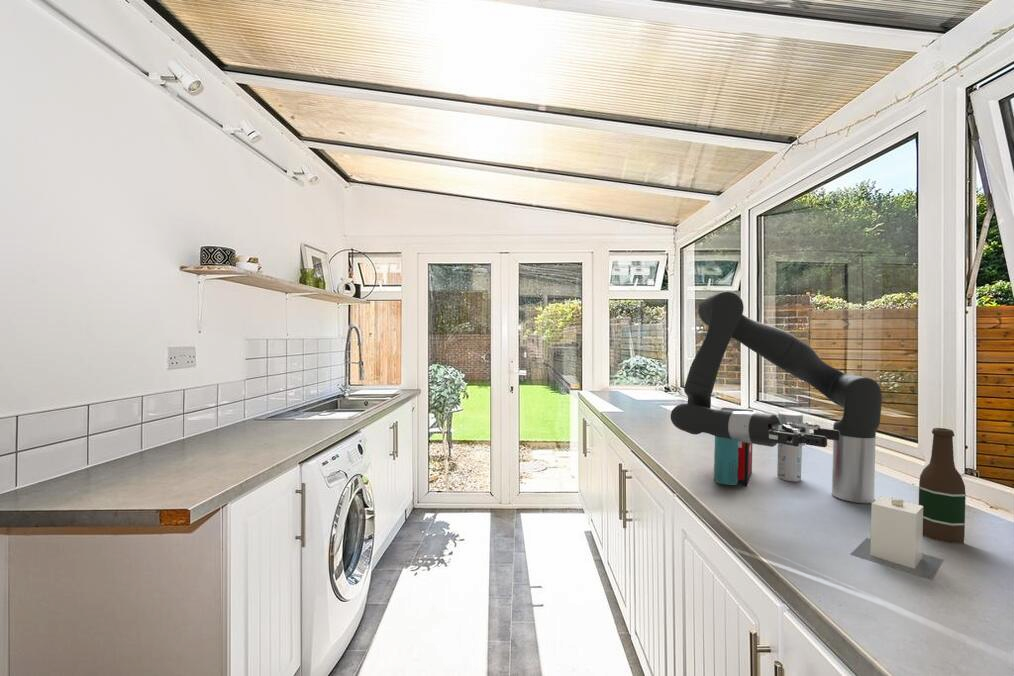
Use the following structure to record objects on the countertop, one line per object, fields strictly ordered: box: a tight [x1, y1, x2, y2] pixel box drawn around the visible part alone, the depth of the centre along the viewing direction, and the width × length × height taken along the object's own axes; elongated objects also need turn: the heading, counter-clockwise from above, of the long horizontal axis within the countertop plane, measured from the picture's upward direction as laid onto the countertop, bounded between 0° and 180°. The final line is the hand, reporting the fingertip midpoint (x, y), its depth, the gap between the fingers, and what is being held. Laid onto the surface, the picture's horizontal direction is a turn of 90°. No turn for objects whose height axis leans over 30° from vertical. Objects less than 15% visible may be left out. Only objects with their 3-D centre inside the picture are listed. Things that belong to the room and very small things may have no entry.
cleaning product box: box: [713, 407, 754, 487], centre depth 143 cm, size 16×9×20 cm, turn 148°
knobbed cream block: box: [870, 495, 924, 569], centre depth 90 cm, size 7×7×11 cm
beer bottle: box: [918, 427, 967, 545], centre depth 100 cm, size 8×8×24 cm
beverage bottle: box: [713, 436, 739, 486], centre depth 133 cm, size 6×7×20 cm
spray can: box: [776, 411, 804, 482], centre depth 142 cm, size 6×6×20 cm
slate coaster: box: [849, 537, 944, 581], centre depth 90 cm, size 12×12×1 cm
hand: (833, 438), depth 98 cm, fingers open, 8 cm apart
